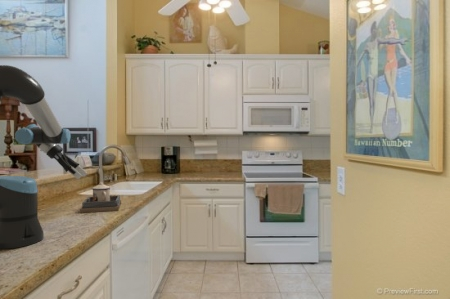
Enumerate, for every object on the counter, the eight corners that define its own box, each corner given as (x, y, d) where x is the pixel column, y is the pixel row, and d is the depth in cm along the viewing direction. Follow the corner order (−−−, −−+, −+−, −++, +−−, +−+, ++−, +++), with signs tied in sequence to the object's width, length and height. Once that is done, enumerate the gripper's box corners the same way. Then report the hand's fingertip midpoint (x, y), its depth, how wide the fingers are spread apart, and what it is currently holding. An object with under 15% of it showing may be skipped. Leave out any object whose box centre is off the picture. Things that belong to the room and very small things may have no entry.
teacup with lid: (90, 203, 158) (90, 182, 158) (107, 201, 164) (107, 181, 164) (96, 207, 149) (96, 185, 148) (114, 204, 154) (113, 183, 154)
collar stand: (118, 210, 149) (118, 201, 149) (80, 213, 144) (80, 203, 144) (121, 203, 168) (121, 194, 168) (88, 205, 163) (88, 196, 163)
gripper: (53, 153, 160) (82, 178, 164) (37, 154, 136) (71, 184, 140) (63, 144, 162) (92, 169, 166) (49, 143, 138) (83, 173, 142)
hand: (83, 176), depth 153 cm, fingers open, 13 cm apart
